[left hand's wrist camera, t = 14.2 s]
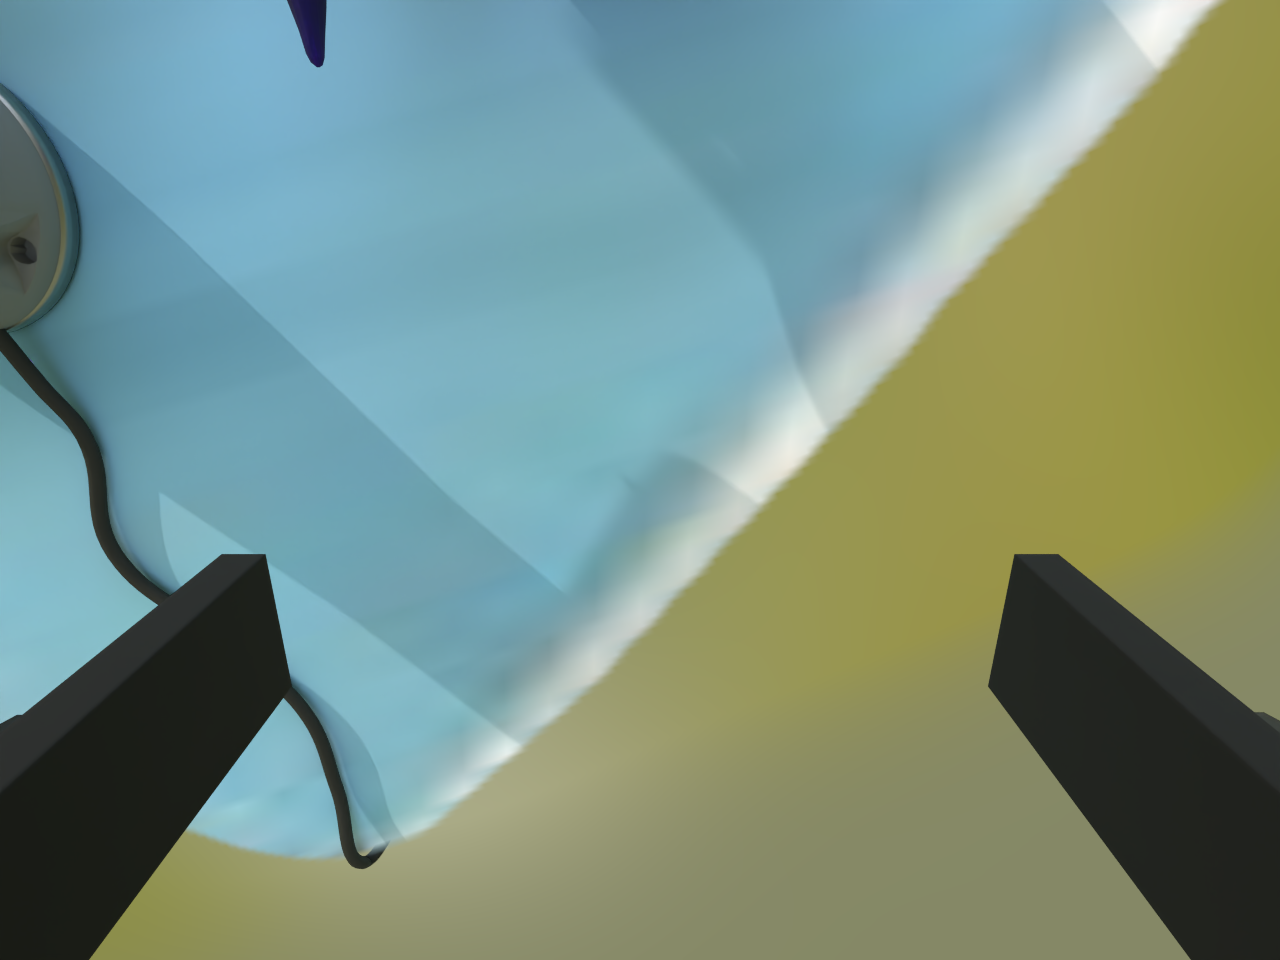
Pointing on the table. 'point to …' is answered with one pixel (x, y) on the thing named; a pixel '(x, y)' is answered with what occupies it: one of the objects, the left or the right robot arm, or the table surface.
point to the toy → (311, 27)
